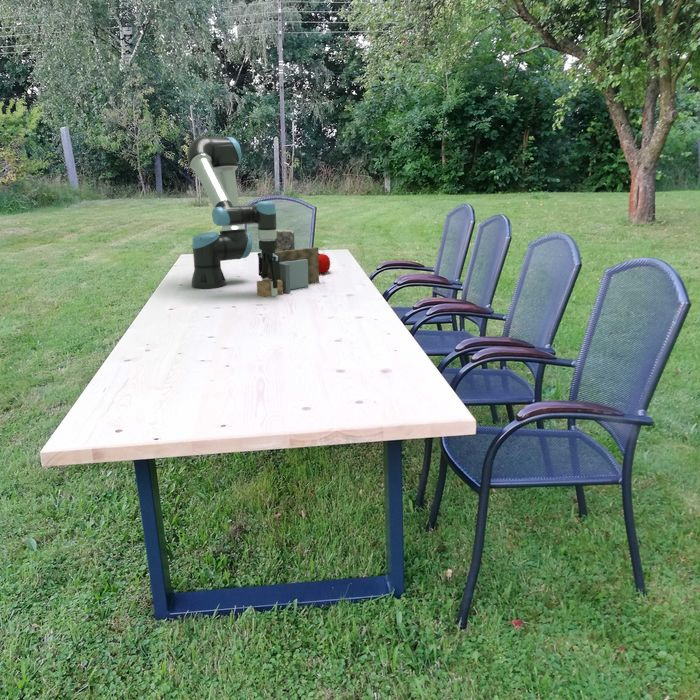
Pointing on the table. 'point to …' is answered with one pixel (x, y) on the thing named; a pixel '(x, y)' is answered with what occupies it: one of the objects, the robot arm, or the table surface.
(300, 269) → the gate
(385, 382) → the table surface
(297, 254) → the wall frame
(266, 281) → the block
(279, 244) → the stone block
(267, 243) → the robot arm
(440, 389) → the table surface
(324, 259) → the tomato
